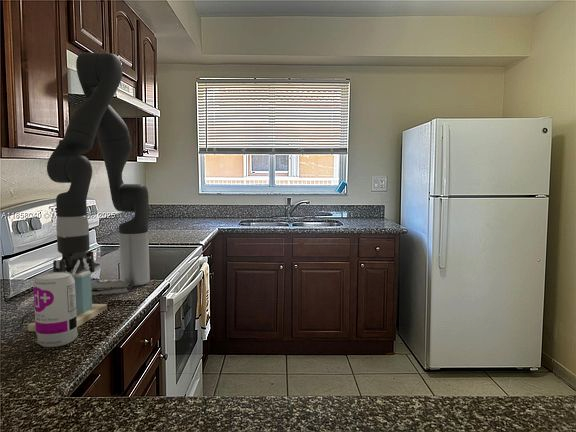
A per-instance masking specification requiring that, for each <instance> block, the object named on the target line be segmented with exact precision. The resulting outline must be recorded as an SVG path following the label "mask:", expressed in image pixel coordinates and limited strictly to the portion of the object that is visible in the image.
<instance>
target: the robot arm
mask: <svg viewBox="0 0 576 432" xmlns="http://www.w3.org/2000/svg"><path fill="white" fill-rule="evenodd" d="M75 67H76V74H77V78H78V82H79V84H80V86H81V89H82V92H83V94H84V97H85V99H86V100H85V101H84V102H83V103H82V104H80V106H79V107H78V108H76V110H75V111H74V112H73V114H72V115H71V117H70V120H69V122H68V124H67V127H66V130H65V134H64V136H63V138H62V139H61V141H60V142H59V143H58V145H57V146H56V147H55V149H54V150H53V152H52V153H51V154H50V156H49V158H48V161H47V163H46V172H47V175H48V177H49V178H50V180H51V181H53V182H55V183H58V184H70V186H69V188H68V190H67V191H66V192H62V193H59V194H58V195H56V197H55V199H56V200H55V203H56V205H55V206H56V225H55V227H56V243H57V245H56V247H57V252H58V253H59V254H61V259H57V260H55V259H54V260H53V262H52V266H53V267H52V268H53V270H52V273H53V272H68V273H71V275H72V277H74V276H75V273H77V272H78V271H91V274H92V273H94V272H95V271H96V270H95V260H94V259H95V258H94V251H92V250H90V248H91V247H90V229H89V220H88V208H87V198H88V193H89V189H90V184H91V181H92V177H93V167H92V163H91V161H90V160H89V158H87V157H86V156H85V155H83V154H86V153H89V152H90V151H91V150H92V149H93V145H94V143H95V141H96V140H95V139H96V138H97V141H98V145H99V148H100V152H101V156H102V159H103V162H104V166H105V170H106V174H107V180H108V184H109V192H110V198H111V201H112V205H113V207H114V209H115V210H116V211H117V212H120V213H122V212H123V213H134V216H133V217H132V218H131V219H129V220H128V221H125V222H122V223H120V224H119V226H118V239H119V241H118V242H119V243H118V244H119V266H120V267H119V268H120V270H119V271H120V280H121V281H123V282H124V283H128V281H130V282H131V281H132V280H133V281H132V287H135V286H142V285H146V284H149V283H150V278H151V276H150V275H151V274H150V273H151V272H150V253H149V252H150V251H149V249H150V247H149V203H150V201H149V197H150V196H149V191H148V188H147V186H146V185H145V184H142V183H124V181H123V171H124V168H125V166H126V164H127V162H128V160H129V158H130V155H131V153H132V149H133V148H132V147H133V145H132V141H131V136H130V131H129V128H128V126H127V124H126V123H125V121H124V119H123V118H122V117H121V116H120V114H118V113H117V111H116V110H115V109H114V108H113V106H111V105H110V103H111V102H112V100H113V98H114V96H115V93H116V92H117V90H118V89H119V86H120V84H121V81H122V78H123V72H124V71H123V64H122V62H121V60H120V58H119V56H117V55H116V54H114V53H110V52H81V53H79V54H78V55H77V58H76V61H75ZM89 265H90V266H89Z"/></svg>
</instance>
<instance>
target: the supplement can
mask: <svg viewBox="0 0 576 432" xmlns="http://www.w3.org/2000/svg"><path fill="white" fill-rule="evenodd" d="M32 289H33V290H32V291H33V303H34V304H33V305H34V306H33V307H34V308H33V309H34V322H35V326H36V331H35V340H36V343H37V344H38V345H40V346H41V347H45V348H54V347H55V348H57V347H62V346H65V345H68V344H71V343H72V342H74V341H75V339H77V337H78V327H77V315H76V295H75V280H74V278H73V277H72V275H71V273H68V272H67V271H65V272H53V271H52V272H47V273H42V274H39V275H37V276H35V280H34V282H33V284H32Z"/></svg>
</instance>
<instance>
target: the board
mask: <svg viewBox="0 0 576 432" xmlns="http://www.w3.org/2000/svg"><path fill="white" fill-rule="evenodd" d="M105 310H106V311H107V310H108V304H106V303H92V309H90V310H88V311H87V312H85V313H76V315H77V328H78V327H80V326H82V325H83V324H85V323H86V322H88V321H90V320H92V319H94V318H96V317H97V316H99V315H101V314H102V313H104V312H105ZM103 311H104V312H103ZM100 313H101V314H100ZM98 314H99V315H98ZM27 328H28V329H27V331H28V332H36V326H35V321H33V322H30V323H29V324H27Z"/></svg>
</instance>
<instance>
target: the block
mask: <svg viewBox="0 0 576 432" xmlns="http://www.w3.org/2000/svg"><path fill="white" fill-rule="evenodd" d="M73 278H74V280H75V295H76V313H85V312H87V311H88V310H90V309H92V304H93V297H92V296H93V295H92V292H91V282H92V273H91V271H78V272H77V273H75V276H74V277H73Z"/></svg>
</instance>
